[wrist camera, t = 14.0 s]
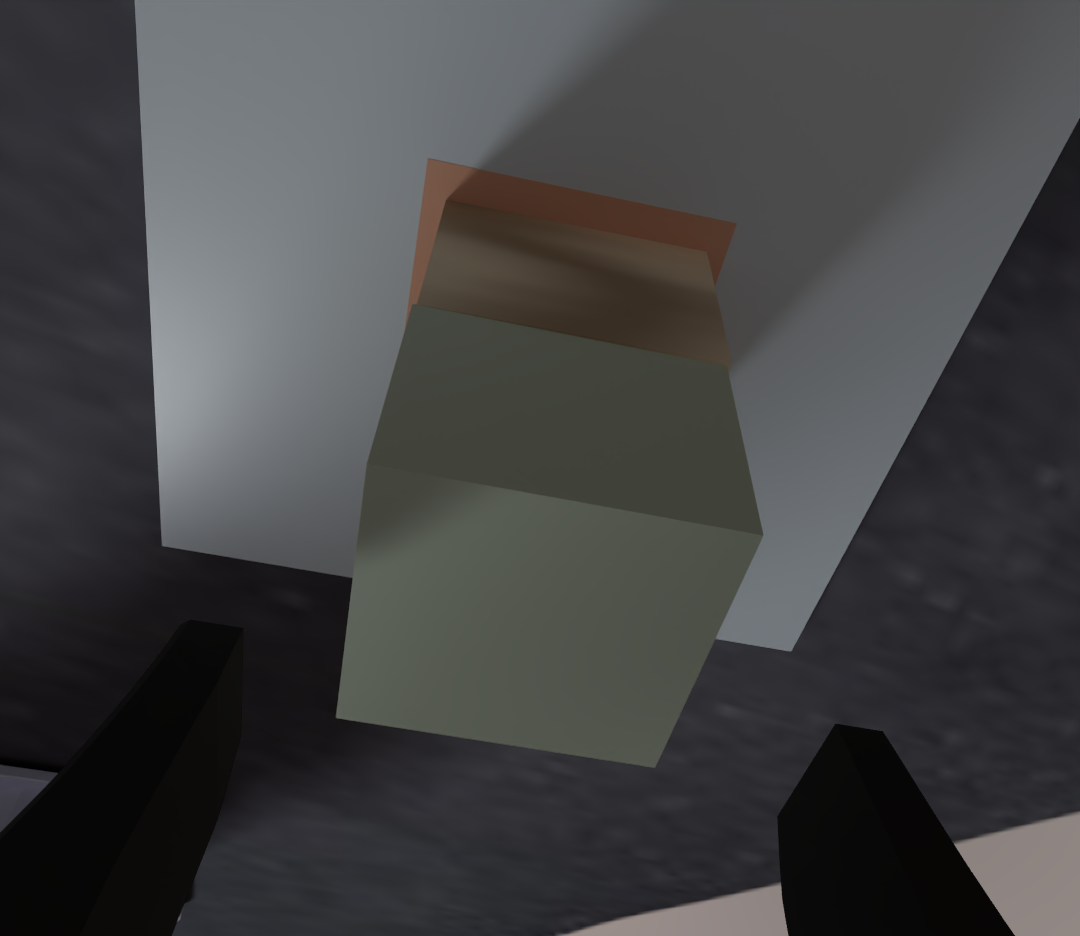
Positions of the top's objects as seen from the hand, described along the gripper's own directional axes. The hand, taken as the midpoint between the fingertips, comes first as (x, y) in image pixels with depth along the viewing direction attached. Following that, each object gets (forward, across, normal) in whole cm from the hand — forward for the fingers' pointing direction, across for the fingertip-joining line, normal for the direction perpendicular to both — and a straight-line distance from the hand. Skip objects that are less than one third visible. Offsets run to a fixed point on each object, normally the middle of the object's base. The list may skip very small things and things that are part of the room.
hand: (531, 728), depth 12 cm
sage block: (+6, 0, 0) cm, 6 cm away
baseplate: (+10, 0, 0) cm, 10 cm away
